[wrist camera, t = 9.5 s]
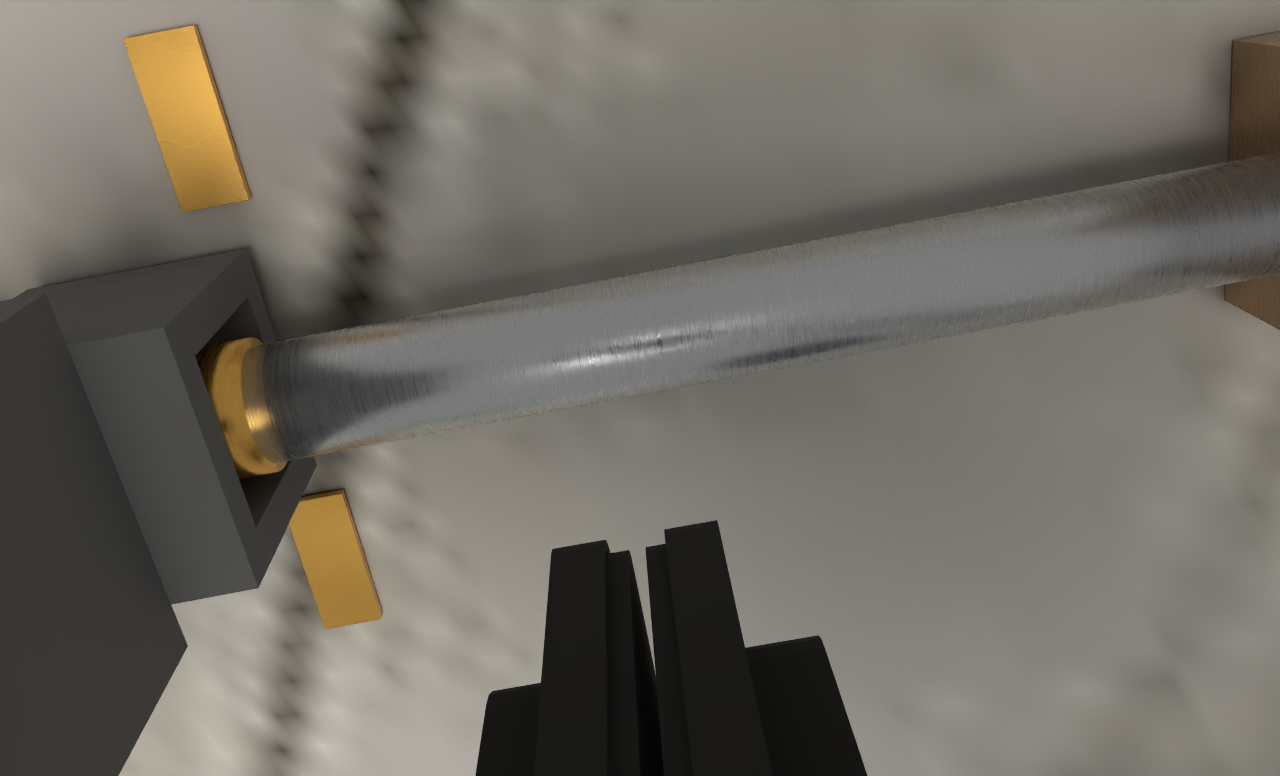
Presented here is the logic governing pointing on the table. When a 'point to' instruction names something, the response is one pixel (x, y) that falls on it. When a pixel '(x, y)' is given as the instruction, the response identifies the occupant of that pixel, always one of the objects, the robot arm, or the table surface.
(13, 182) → the table surface
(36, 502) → the collar
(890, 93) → the table surface
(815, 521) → the table surface
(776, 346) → the rod with tan block
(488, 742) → the robot arm
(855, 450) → the table surface
